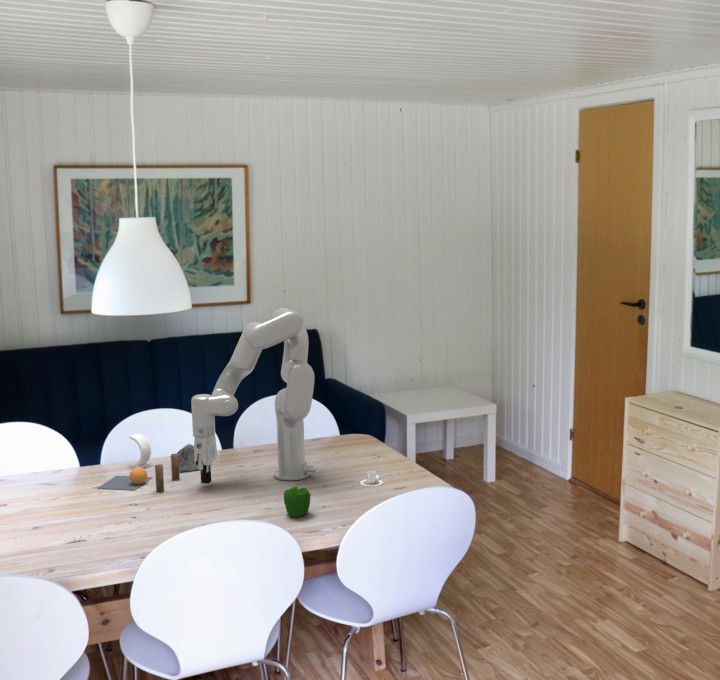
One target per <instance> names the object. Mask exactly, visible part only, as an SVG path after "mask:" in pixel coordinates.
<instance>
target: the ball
mask: <svg viewBox="0 0 720 680" xmlns="http://www.w3.org/2000/svg"><path fill="white" fill-rule="evenodd" d="M128 476H129V478H130V480H131V482H132V483H134V484H137V485H139V484H142V483H144V482H145V481H146V479H147V477H148V473H147V471H146V468H141V467H136V468H132V469H131V470H130V472H129V475H128Z"/></svg>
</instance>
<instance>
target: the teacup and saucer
mask: <svg viewBox="0 0 720 680" xmlns="http://www.w3.org/2000/svg"><path fill="white" fill-rule="evenodd" d="M366 481H367V482H368V484H365V482H366ZM376 482H378V483H376ZM375 483H376V484H375ZM383 483H384V482H383V480H381V479H380V476H379V474H377V472H376V471H373V470H371V471H370V470H369V471H367V472H366V478H365V479H362V480H360V482H359V484H360V485H362V486H365V487H377V486H381V485H383Z"/></svg>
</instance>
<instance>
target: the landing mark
mask: <svg viewBox="0 0 720 680" xmlns="http://www.w3.org/2000/svg"><path fill="white" fill-rule="evenodd" d="M153 478H154V477H151V476H147V479H146V481H145V482H144V483H142V484H139V485H137V484H134V483H132V482H131V480H130V478H129V475H128V476H127V475H115V476H113V477H112V478H111V479H108V481H105V482H104V483H103V484H102V485H100V486H98V487H96V489H97V490H117V491H118V490H119V491H136V490H138V489H139V488H140V487H142V486H143V485H144V484H146V483H147V482H149V481H150V480H152V479H153Z"/></svg>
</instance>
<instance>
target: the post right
mask: <svg viewBox="0 0 720 680" xmlns="http://www.w3.org/2000/svg"><path fill="white" fill-rule="evenodd" d="M170 467H171V468H170V469H171V480H172V481H178V480H180V472H179V458H178V454H177V453H172V454H170Z"/></svg>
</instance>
